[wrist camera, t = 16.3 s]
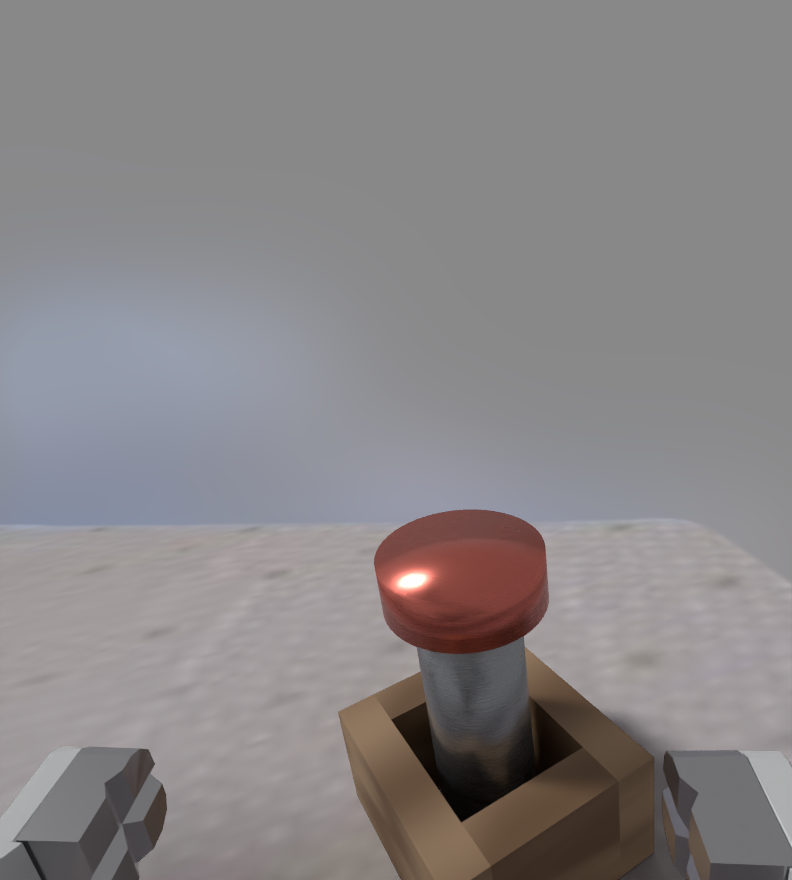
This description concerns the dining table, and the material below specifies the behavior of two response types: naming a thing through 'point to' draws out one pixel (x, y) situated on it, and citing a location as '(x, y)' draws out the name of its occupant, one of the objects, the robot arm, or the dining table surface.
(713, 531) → the dining table surface
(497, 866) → the socket block
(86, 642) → the dining table surface
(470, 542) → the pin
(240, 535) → the dining table surface
